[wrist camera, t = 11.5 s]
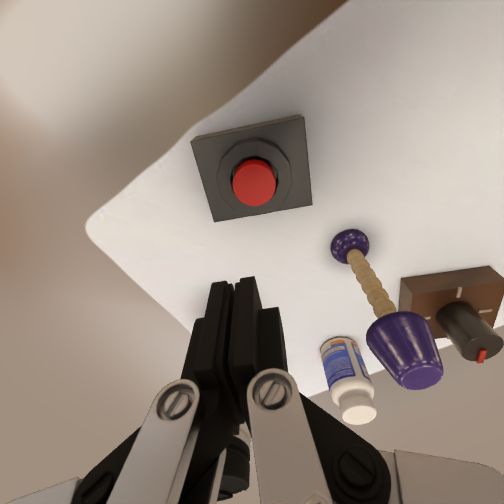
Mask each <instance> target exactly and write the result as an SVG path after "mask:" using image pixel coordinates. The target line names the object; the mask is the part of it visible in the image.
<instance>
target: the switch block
mask: <svg viewBox="0 0 504 504" xmlns="http://www.w3.org/2000/svg"><path fill="white" fill-rule="evenodd" d="M191 146H192V149H193V152H194V156H195V159H196V162H197V166H198V169H199V173H200V176H201V179H202V183H203V186H204V190H205V193H206V196H207V200H208V203H209V206H210V210H211V213H212V217H213V220H214V222H219V221H225V220H230V219H236V218H242V217H247V216H255V215H260V214H266V213H271V212H276V211H281V210H287V209H293V208H298V207H304V206H310V205H312V194H311V183H310V173H309V163H308V152H307V142H306V132H305V121H304V117H303V116H302V115H295V116H291V117H286V118H281V119H277V120H272V121H267V122H263V123H258V124H254V125H249V126H244V127H240V128H235V129H230V130H226V131H221V132H216V133H212V134H207V135H202V136H198V137H195V138H194V139H193V140H192V141H191ZM250 159H259V160H262V161H264V162H266V163H267V164H268V165H269V166H270V167H271V168H272V170H273V172H274V175H275V181H276V188H275V192H274V194H273V196H272V198H271V199H270V200H269V201H268V202H266V203H264V204H262V205H259V206H250V205H246V204H244V203H242V202H241V201H240V200H239V199H238V198H237V197H236V195H235V193H234V191H233V179H234V175H235V172H236V170H237V168H238V167H239V166H240V164H242V163H243V162H245V161H247V160H250Z"/></svg>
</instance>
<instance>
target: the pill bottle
mask: <svg viewBox="0 0 504 504" xmlns="http://www.w3.org/2000/svg"><path fill="white" fill-rule="evenodd" d="M320 353H321V358H322V362H323V366H324V370H325V375H326V379H327V383H328V387H329V391H330V395H331V398H332V400H333V402H334V403H335V404H337V405H338V406H339V407H340V412H341V415H342V418H343V420H344V421H345V422H347V423H349V424H353V425H361V424H365V423H368V422H370V421H372V420H373V419H374V418H375V417H376V410H375V406H374V403H373V401H372V398H373V396H374V388H373V385H372V382H371V380H370V377H369V374H368V372H367V369H366V367H365V364H364V361H363V359H362V356H361V354H360V351H359V348H358V346H357V344H356V343H355V342H354V341H352V340H350V339H348V338H342V337H340V338H334V339H331V340H329V341H327V342H326V343H325V344H324V345H323V346H322V348H321V352H320Z"/></svg>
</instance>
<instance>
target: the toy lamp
mask: <svg viewBox="0 0 504 504" xmlns="http://www.w3.org/2000/svg"><path fill="white" fill-rule="evenodd" d="M368 251H369V241H368V238H367V236H366V235H365V234H364V233H363V232H361V231H359V230H347V231H344V232H342V233H340V234H339V235H337V236H336V237H335V238H334V240H333V242H332V244H331V253H332V255H333V257H334V258H335V259H336V260H337V261H339V262H341V263H344V264H350V265H351V268H352V271H353V272H354V273H355V274H356V278H357V280H358V282H359V283H360V284H361V287H362V290H363V291H364V293H365V294H366V295H367V299H368V301H369V303H370V304H371V305H372V306H373V311H374V314H375V315H376V316H377V318H378V319H377V320H376V321H375V322H374V323H372V325H371V326H370V327H369V329H368V331H367V333H366V342H367V345H368V346H369V348H370V350H371V351H372V352H373V354H374V355H375V356H376V357H377V359H378V360H379V361H380V362H381V364H382V365H383V366H384V367H385V369H386V370H387V371H388V372H389V373H390V375H391V376H392V377H393V378H394V380H395V381H396V382H397V383H398V384H399V385H401V386H402V387H404V388H406V389H410V390H421V389H426V388H429V387H431V386H433V385H435V384H436V383H437V382H438V381H440V379H441V378H442V376H443V365H442V362H441V359H440V355H439V352H438V349H437V346H436V343H435V340H434V336H433V333H432V330H431V327H430V325H429V323H428V322H427V320H426V319H425V318H424V317H422V316H421V315H419V314H417V313H415V312H410V311H399V312H397V311H396V307H395V305H394V303H393V302H392V301H391V300H389V296H388V293H387V292H386V291H385V289H383V288H382V284H381V282H380V280H379V279H378V278H377V277H376V275H375V272H374V271H373V269H371V268H370V265H369V263H368V262H367V260H366V259H364V258H365V256H366V255H367V253H368Z"/></svg>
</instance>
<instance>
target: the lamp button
mask: <svg viewBox="0 0 504 504" xmlns="http://www.w3.org/2000/svg"><path fill="white" fill-rule="evenodd" d="M275 188H276V181H275V175H274V172H273V170H272V168H271V167H270V166H269V165H268V164H267V163H266V162H264V161H262V160H259V159H250V160H247V161H245V162H243V163H242V164H240V166H239V167H238V168H237V170H236V172H235V175H234V179H233V191H234V193H235V195H236V197H237V198H238V199H239V200H240V201H241V202H242V203H244V204H246V205H250V206H259V205H262V204H264V203H266V202H268V201H269V200H270V199H271V198H272V196H273V194H274V192H275Z"/></svg>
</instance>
